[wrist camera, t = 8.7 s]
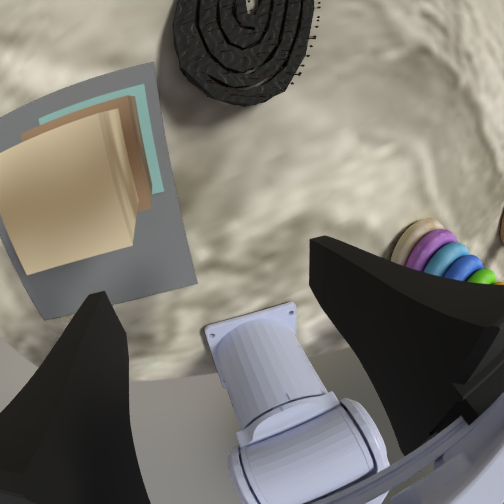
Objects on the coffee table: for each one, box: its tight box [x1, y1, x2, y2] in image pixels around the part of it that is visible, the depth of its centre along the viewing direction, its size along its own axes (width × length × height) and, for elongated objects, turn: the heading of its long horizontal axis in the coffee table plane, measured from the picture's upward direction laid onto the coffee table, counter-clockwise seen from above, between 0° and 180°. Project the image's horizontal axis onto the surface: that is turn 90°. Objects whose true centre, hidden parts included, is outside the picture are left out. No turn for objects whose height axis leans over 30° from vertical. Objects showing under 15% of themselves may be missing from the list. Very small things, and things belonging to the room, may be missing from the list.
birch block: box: [0, 109, 139, 275], centre depth 9 cm, size 4×4×4 cm
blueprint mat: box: [0, 62, 198, 320], centre depth 16 cm, size 15×13×1 cm
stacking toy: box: [391, 219, 504, 285], centre depth 20 cm, size 8×8×19 cm
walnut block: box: [21, 95, 152, 212], centre depth 13 cm, size 5×5×4 cm
